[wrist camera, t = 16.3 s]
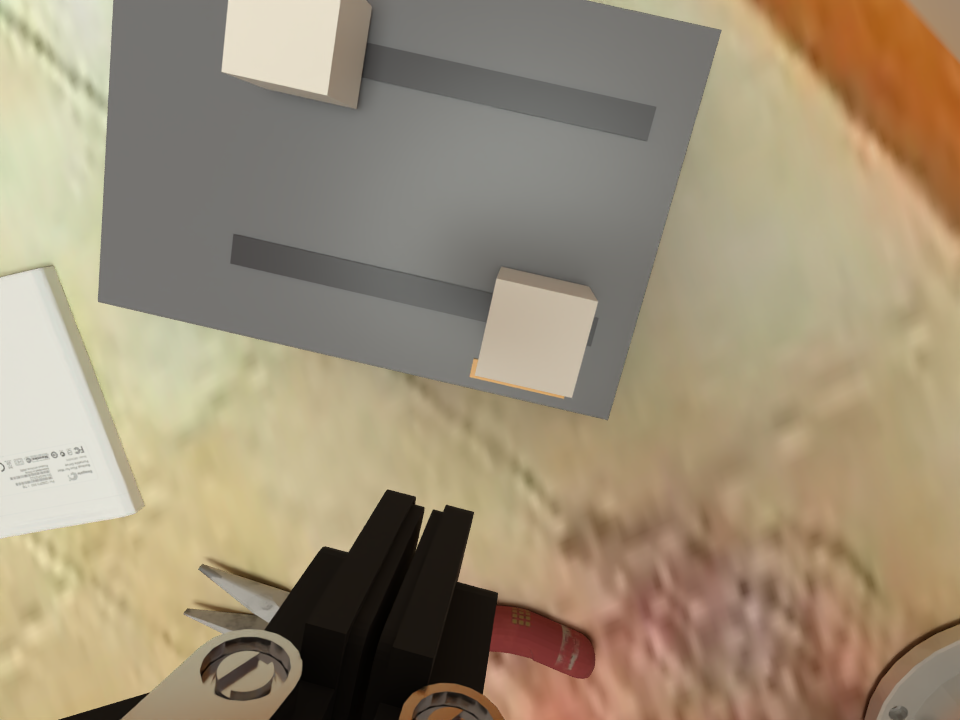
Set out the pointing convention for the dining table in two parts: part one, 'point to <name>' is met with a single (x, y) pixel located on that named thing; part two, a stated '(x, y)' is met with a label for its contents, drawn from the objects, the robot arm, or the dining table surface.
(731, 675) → the dining table surface
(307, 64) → the tab
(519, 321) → the tab
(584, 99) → the switch board
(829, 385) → the dining table surface
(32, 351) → the external hard drive
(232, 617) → the pliers
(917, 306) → the dining table surface
